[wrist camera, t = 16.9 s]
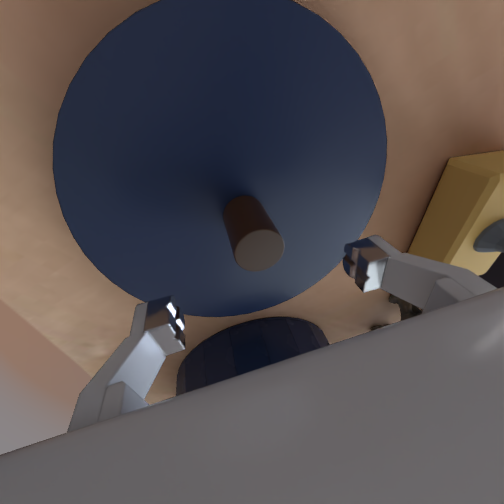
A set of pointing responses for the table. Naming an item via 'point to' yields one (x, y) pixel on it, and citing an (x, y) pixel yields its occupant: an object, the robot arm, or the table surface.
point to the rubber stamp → (465, 214)
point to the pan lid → (219, 153)
